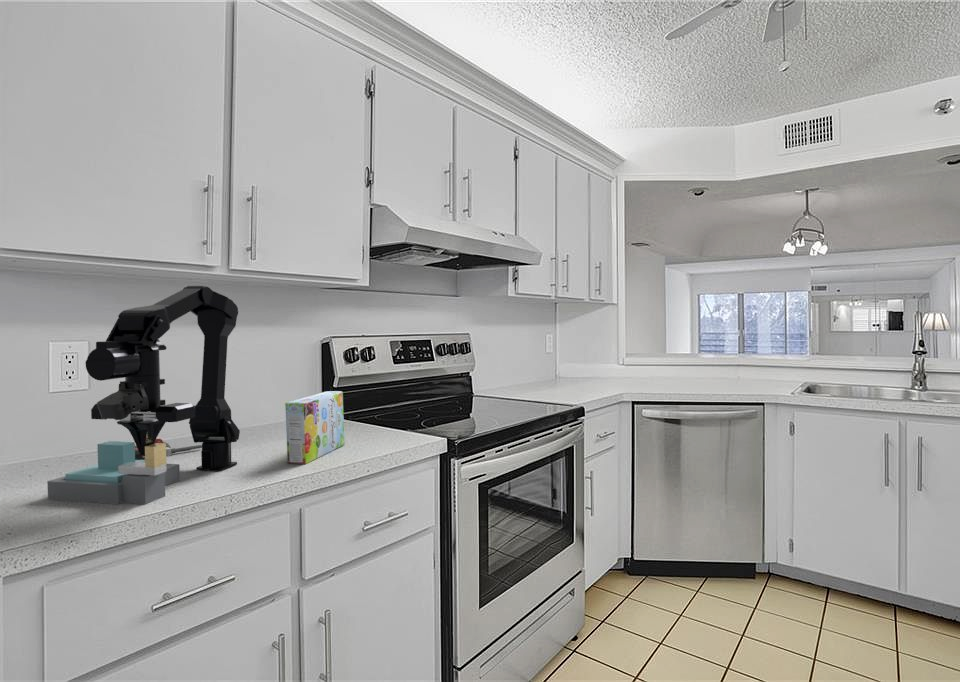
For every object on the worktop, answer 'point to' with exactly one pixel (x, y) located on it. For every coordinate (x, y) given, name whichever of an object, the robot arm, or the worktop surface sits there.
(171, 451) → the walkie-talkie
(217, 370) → the robot arm
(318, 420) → the snack box
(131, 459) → the cover
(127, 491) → the tray
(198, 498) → the worktop surface
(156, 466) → the white yellow l-shaped block
